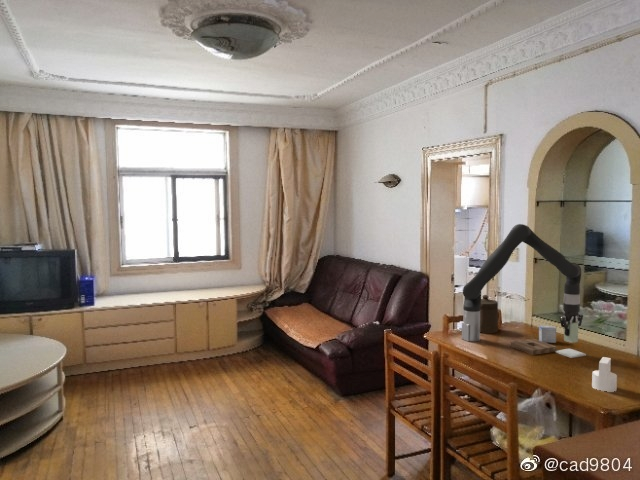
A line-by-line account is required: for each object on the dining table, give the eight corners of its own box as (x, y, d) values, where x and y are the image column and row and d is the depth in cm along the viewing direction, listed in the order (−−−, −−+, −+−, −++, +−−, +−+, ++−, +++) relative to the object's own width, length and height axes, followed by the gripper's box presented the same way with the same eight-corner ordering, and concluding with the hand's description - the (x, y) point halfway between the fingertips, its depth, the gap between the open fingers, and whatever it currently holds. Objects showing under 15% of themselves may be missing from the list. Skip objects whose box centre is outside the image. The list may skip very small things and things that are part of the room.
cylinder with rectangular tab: (594, 382, 209) (594, 355, 208) (618, 387, 203) (619, 359, 202) (589, 388, 202) (590, 360, 201) (614, 393, 196) (615, 365, 195)
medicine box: (553, 340, 271) (553, 325, 270) (556, 343, 266) (556, 327, 266) (538, 340, 272) (538, 325, 271) (541, 342, 267) (541, 327, 266)
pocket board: (532, 355, 246) (532, 350, 246) (510, 346, 261) (510, 341, 261) (556, 351, 252) (556, 346, 252) (533, 343, 267) (533, 338, 267)
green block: (571, 342, 244) (571, 323, 243) (563, 340, 248) (564, 321, 247) (577, 341, 245) (578, 322, 245) (570, 339, 250) (570, 320, 249)
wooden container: (485, 326, 304) (485, 292, 303) (503, 331, 291) (503, 296, 289) (467, 329, 298) (467, 294, 296) (484, 334, 285) (485, 298, 283)
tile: (571, 358, 241) (571, 356, 241) (555, 352, 250) (555, 350, 250) (585, 355, 244) (586, 354, 244) (569, 349, 254) (569, 348, 254)
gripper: (576, 299, 251) (575, 331, 252) (555, 302, 246) (554, 334, 248) (588, 302, 244) (587, 335, 245) (567, 305, 239) (566, 338, 241)
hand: (570, 334), depth 247 cm, fingers closed on green block, 4 cm apart
